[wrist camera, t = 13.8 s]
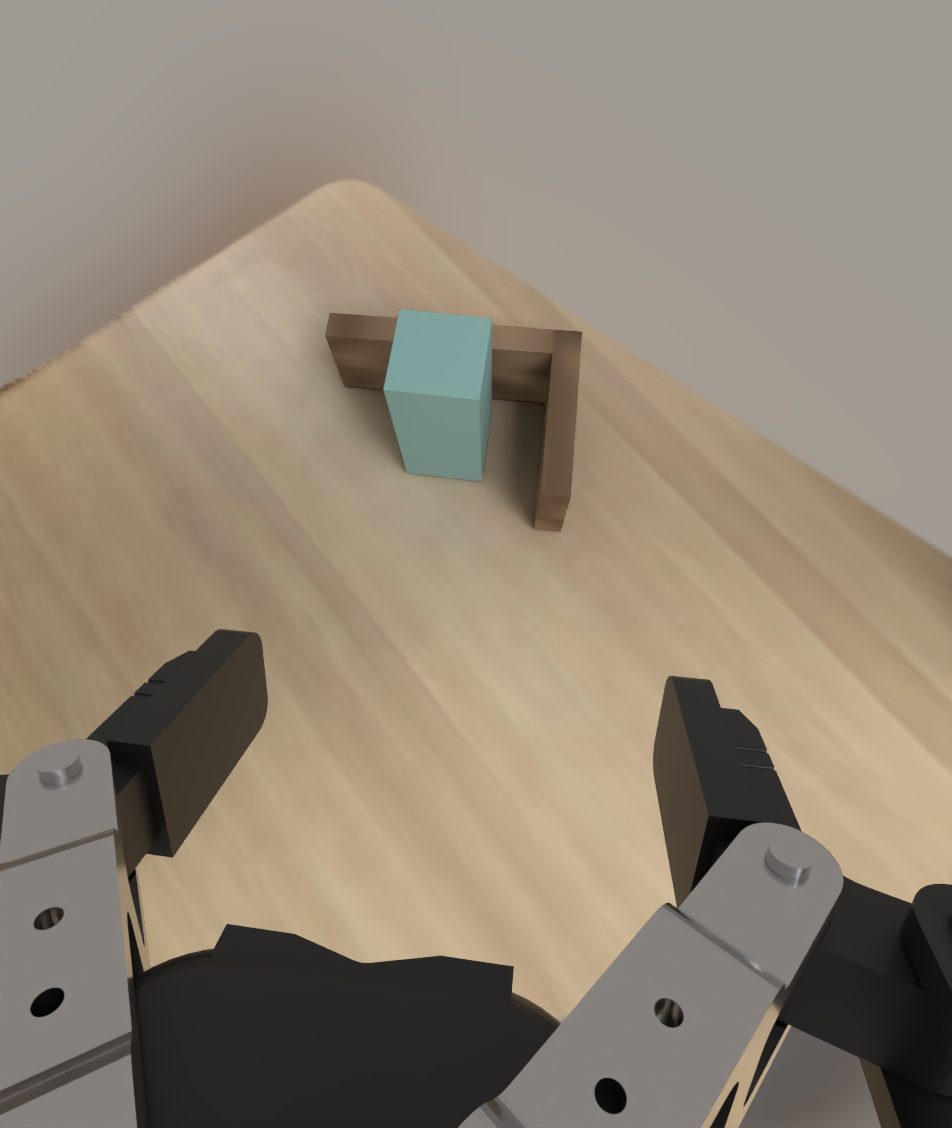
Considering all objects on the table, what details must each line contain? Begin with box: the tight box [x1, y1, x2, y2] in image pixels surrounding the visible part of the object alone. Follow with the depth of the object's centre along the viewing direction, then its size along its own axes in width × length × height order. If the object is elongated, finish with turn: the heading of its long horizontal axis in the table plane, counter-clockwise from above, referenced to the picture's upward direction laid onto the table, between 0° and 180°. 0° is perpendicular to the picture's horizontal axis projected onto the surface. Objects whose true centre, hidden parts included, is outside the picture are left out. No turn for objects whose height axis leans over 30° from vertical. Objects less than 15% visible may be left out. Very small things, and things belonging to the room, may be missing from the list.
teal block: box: [383, 309, 492, 482], centre depth 35 cm, size 4×4×9 cm
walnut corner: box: [325, 313, 582, 531], centre depth 37 cm, size 14×10×5 cm
